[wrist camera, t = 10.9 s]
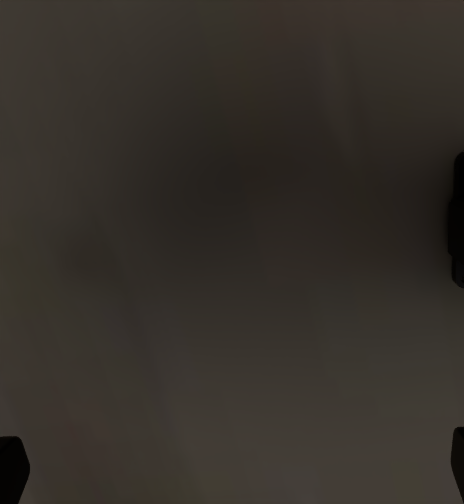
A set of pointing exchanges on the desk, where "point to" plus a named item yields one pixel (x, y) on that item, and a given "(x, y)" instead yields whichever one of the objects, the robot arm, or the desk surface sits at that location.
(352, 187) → the desk surface
